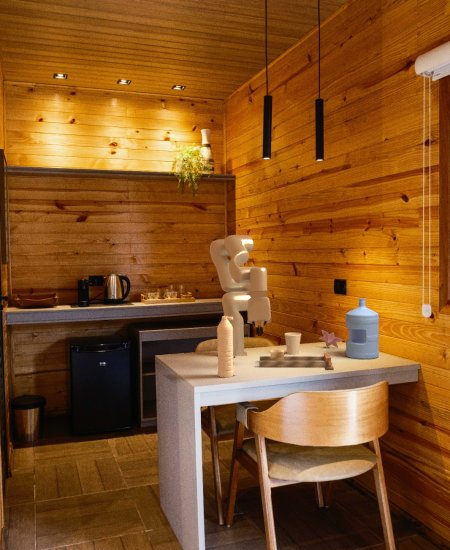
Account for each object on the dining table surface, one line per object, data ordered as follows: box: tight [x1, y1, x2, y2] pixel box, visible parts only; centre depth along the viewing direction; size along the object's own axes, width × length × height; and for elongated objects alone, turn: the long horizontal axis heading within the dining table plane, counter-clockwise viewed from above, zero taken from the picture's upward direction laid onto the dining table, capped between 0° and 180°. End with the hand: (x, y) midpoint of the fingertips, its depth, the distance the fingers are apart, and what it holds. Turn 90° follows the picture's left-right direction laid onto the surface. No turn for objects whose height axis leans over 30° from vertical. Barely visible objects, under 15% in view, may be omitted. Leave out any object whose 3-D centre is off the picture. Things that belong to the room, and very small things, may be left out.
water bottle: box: [216, 315, 234, 378], centre depth 232 cm, size 9×6×25 cm
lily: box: [318, 329, 344, 349], centre depth 294 cm, size 12×12×10 cm
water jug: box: [345, 297, 380, 360], centre depth 271 cm, size 16×16×28 cm
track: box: [258, 352, 334, 371], centre depth 250 cm, size 32×14×5 cm, turn 85°
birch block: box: [270, 349, 285, 361], centre depth 251 cm, size 6×6×6 cm
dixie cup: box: [284, 332, 302, 356], centre depth 281 cm, size 8×8×10 cm
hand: (259, 335), depth 250 cm, fingers closed
